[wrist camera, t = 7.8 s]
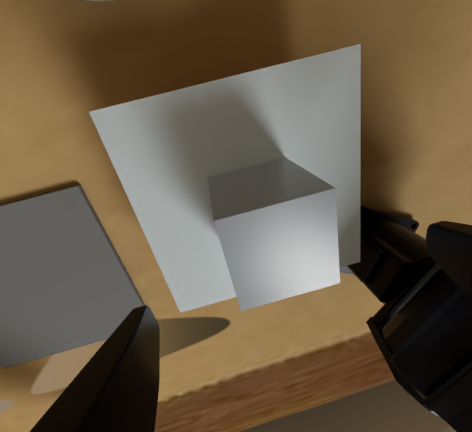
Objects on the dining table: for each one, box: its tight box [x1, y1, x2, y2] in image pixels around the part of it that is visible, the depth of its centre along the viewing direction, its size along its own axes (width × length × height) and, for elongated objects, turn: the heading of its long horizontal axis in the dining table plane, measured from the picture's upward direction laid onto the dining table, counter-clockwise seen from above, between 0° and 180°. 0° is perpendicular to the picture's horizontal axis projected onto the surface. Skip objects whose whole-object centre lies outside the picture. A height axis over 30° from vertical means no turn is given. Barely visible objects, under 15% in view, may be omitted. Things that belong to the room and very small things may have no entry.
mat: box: [0, 185, 145, 369], centre depth 20 cm, size 14×14×1 cm
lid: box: [89, 44, 361, 313], centre depth 11 cm, size 12×12×6 cm
